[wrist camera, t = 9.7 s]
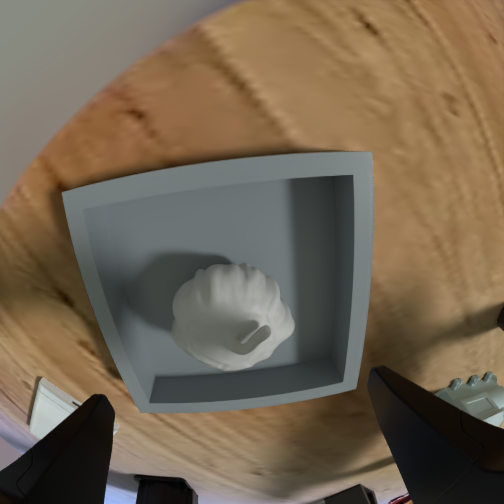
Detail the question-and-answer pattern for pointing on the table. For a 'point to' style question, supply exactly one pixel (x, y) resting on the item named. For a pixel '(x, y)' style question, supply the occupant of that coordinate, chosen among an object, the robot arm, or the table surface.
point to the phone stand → (353, 496)
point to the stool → (478, 395)
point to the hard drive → (52, 409)
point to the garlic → (230, 316)
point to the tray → (228, 252)
